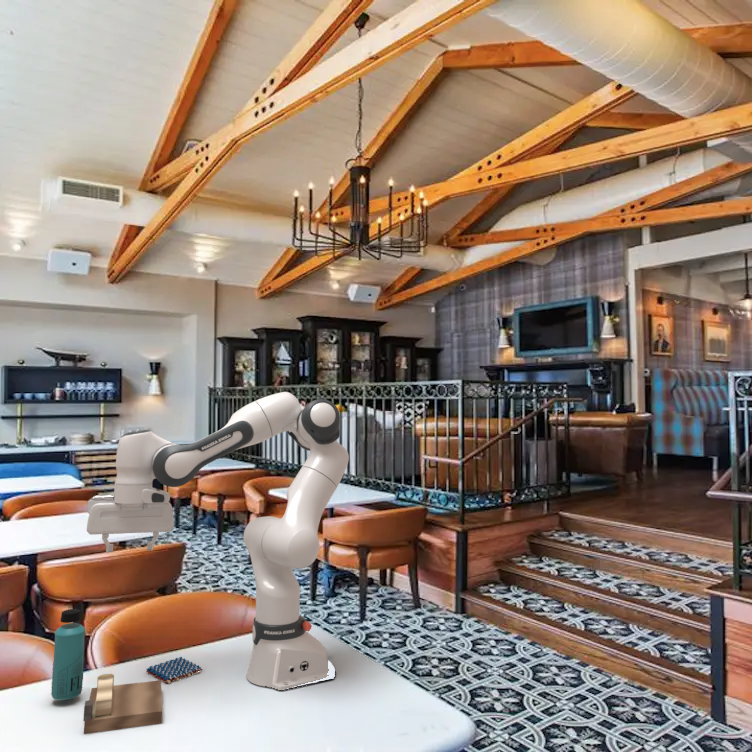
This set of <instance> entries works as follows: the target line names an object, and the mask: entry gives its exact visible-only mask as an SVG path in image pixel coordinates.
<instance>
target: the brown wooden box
mask: <svg viewBox="0 0 752 752" xmlns="http://www.w3.org/2000/svg"><path fill="white" fill-rule="evenodd" d="M96 697H97V687H91V689H90V694H89V698H88V700H85V702H84V706H83V709H84V710H83V722H84V723H83V724H84V726H83V727H84V728H83V735H87V734H94V733H101V732H107V731H108V732H109V731H115V730H121V729H129V728H137V727H144V726H152V725H159V724H163V700H162V699H163V698H162V697H163V695H162V681H161V680H159V679H158V680H152V681H150V680H149V681H143V682H140V681H139V682H133V683H124V684H116V685H113V691H112V706H111V714H107V715H100V716H95V712H96Z"/></svg>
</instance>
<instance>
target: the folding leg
mask: <svg viewBox="0 0 752 752" xmlns="http://www.w3.org/2000/svg"><path fill="white" fill-rule="evenodd" d="M114 683H115V674H112V673H105V674H101V675H99V676H97V683H96V684H97V685H96V688H97V697H96V712H95V716H100V715H107V714H111V706H112V691H113V686H114Z"/></svg>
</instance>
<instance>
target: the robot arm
mask: <svg viewBox="0 0 752 752" xmlns="http://www.w3.org/2000/svg"><path fill="white" fill-rule="evenodd" d="M284 432H287V434H288V436H290V437H291V439H293V441H294V442H295V443H296V444H297V445H298V446H299V447H300V448H301V449H304V450H305V451H309V454H308V457H307V458H306V460H305V462H304V463H303V464H302V466H301V468H300V470H299V471H298V473H297V474H296V476H295V477H294V479H293V480H292V482H291V484H290V485H289V486H288V489H287V491H286V500H287V505H286V509H285V512H284V514H283V516H282V517H276V516H270V515H268V516H259V517H255V518H254V519H251V520H250V521H249V523H247V525H246V527H245V529H244V531H243V543H244V545H245V547H246V549H247V551H248V554H249V556H250V560H251V565H252V570H253V576H254V582H255V617H254V618H253V622H252V623H253V625H252V643H253V645H252V652H251V658H250V663H249V667H248V670H247V673H246V679H247V680H248V682H250V683H252V684H254V685H256V686H259V687H265V686H267V687H266V688H271V687H272V688H271V689H273V688H275V689H274V690H276V689H278V690H277V691H279V690H283V689H287V688H292V687H294V686H298V685H301V684H305V683H308V682H313V681H316V680H320V679H323V678H326V677H327V676H329V675H327V673H328V671H329V669H328V660H329V659H328V654H327V651H326V648H325V646H324V644H322V642H321V641H320V640H319V639H317V638H316V637H315V636H313V635H312V634H311V633H309V631H311V629H312V624H311V623H310V621H308V620H307V619H306V618H305V617H303V616H302V615H300V601H301V600H300V599H301V598H300V597H301V586H300V584H299V582H298V580H297V578H296V577H295V576H296V575H295V573H294V571H293V570H294V569H305V568H307V567H310V566H311V565H312V564H313V563H314V562H315V561H316V559H317V557H318V556H319V552H320V547H321V546H320V539H319V536H318V535H319V534H318V533H319V532H318V531H319V526H320V521H321V518H322V516H323V514H324V511H325V510H326V507H327V506H328V503H329V502H330V500H331V499H332V496H333V495H334V494H335V492H336V490H337V489H338V486H339V484H340V483H341V480H342V478H343V476H344V475H345V471H346V469H347V466H348V464H349V460H350V457H349V452H348V450H347V449H346V448H345V447H344V446H343V445H342V444H341V443H339V442H338V441H337V440H338V439H339V438H340V436H341V434H340V433H341V415H340V411H339V409H338V407H337V406H336V404H335V403H333V402H332V401H331V400H328V399H324V398H319V399H318V398H317V399H314V400H312V401H310V402H308V404H306V405H305V406H303V405H302V404H301V403H300V401H299V400H298V398H296V396H295V395H294V394H292V393H291V392H288V391H282V392H277V393H273V394H269V395H267V396H264V397H261V398H259V399H257V400H254V401H252V402H250V403H247V404H245V405H244V406H243V407H241V408H239V409H238V410H237V411H235V412H234V413H232V415H231V417H230V418H229V419H228V422H227V423H226V424H225V426H223V427H222V428H221V429H219V430H217V431H215V432H213V433H211V434H209V435H207V436H205V437H203V438H200V439H199V440H196V441H194V442H191V443H188V444H178V443H174V442H171V441H169V440H167V439H165V438H162V437H161V436H159V435H157V434H156V433H155V432H153V431H152V430H151V429H142V430H141V429H140V430H134V431H130V432H126V433H125V434H123V435H122V436H120V438H119V441H118V443H117V449H116V458H115V470H116V478H115V479H114V493H113V494H110V495H109V494H107V495H93V497H91V498H90V499H88V501H87V502H86V511H87V513H88V514H89V515H88V519H87V523H86V524H87V525H86V532H87V533H88V534H89V535H101V536H102V537H101V539H102V542H103V543H104V545H105V546H106V548H105V552H106V553H107V554H109V553H113V552H114V543H110V541H109V540H108V539H109V537H110V535H116V534H118V535H119V534H141V533H142V534H145V533H152V537H153V538H152V540H151V541H149V542H147V544H146V545H147V549H146V550H147V552H151V551H154V546H155V545H154V544H155V543H156V542H157V540H158V539H159V536H160V534H159V533H171V532H172V531H173V529H175V527H174V526H175V519H174V510H173V506H172V504H171V503H170V502H169V501H170V498H171V496H170V495H171V494H170V493H169V492H168V491H165V490H162V489H159V488H156V487H153V481H154V480H155V479H156V480H157V482H159V483H160V484H162V485H163V486H165V487H171V488H177V487H181V486H184V485H186V484H188V483H189V482H190V481H191V480H192V479H193V478H194V477H196V476H195V475H197V473H198V472H199V471H200V470H201V469H203V467H206V466H207V465H209V464H211V463H212V462H214V461H216V460H218V459H221V458H222V457H225V456H226V455H228V454H230V453H232V452H234V451H237V450H239V449H243V448H247V447H249V446H254V445H257V444H261V443H262V442H265V441H267V440H270V439H271V438H273V437H275V436H277V435H280V434H282V433H284ZM327 659H328V660H327Z"/></svg>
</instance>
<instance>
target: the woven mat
mask: <svg viewBox="0 0 752 752" xmlns="http://www.w3.org/2000/svg"><path fill="white" fill-rule="evenodd" d="M145 671H146V673H147V674H148V675H151V676H152V677H154V678H155V679H158V680H161V682H163V683H165V685H169V684H171V683H175V682H178V681H180V679H181V680H183V679H184V678H186V679H187V678H190V677H192V674H194V673H196V674H195V675H198V674H199V672H198V671H201V672H202V671H203V668H202V667H201V666H200V665H197V664H196V663H193V662H192V661H190V660H187V659H186V658H183V657H182V656H180V657H175V658H173V659H170V660H166V661H165V662H160V663H158V664H155V665H151V666H148V668H146V670H145Z"/></svg>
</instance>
